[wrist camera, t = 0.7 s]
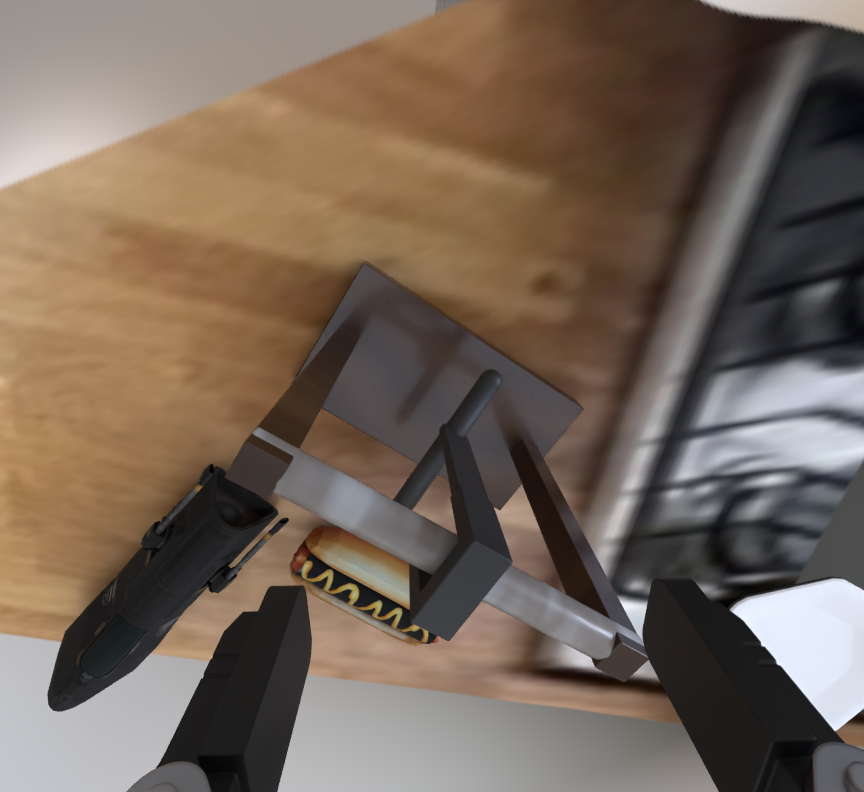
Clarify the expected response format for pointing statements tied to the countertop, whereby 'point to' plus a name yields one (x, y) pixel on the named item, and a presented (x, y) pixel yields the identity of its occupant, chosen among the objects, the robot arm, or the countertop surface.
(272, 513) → the black toy vehicle
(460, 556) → the hanger
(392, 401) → the rail stand
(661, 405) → the countertop surface
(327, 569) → the hot dog
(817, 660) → the plate
